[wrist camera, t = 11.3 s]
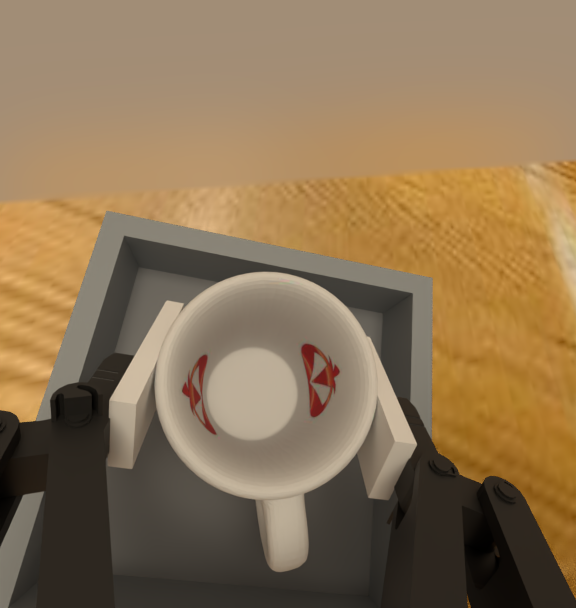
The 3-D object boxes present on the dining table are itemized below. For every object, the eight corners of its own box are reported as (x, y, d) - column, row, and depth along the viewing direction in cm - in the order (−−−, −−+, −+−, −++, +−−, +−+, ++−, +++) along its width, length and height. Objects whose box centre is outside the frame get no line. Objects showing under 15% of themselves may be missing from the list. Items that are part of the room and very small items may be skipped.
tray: (397, 301, 26) (432, 278, 22) (385, 621, 20) (430, 672, 16) (125, 248, 24) (106, 210, 20) (19, 593, 18) (-41, 645, 14)
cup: (343, 516, 20) (424, 570, 12) (185, 552, 18) (165, 642, 10) (309, 316, 23) (356, 262, 15) (170, 330, 21) (147, 276, 13)
